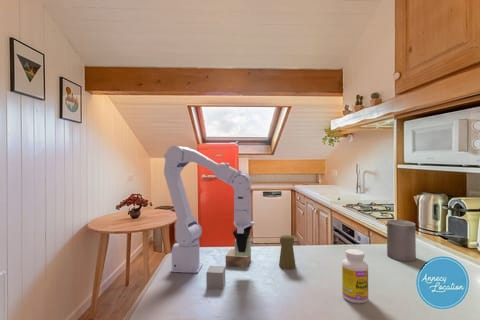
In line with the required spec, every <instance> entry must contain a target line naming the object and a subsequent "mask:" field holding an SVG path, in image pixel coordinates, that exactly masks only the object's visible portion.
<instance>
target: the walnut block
mask: <svg viewBox="0 0 480 320" xmlns="http://www.w3.org/2000/svg"><path fill="white" fill-rule="evenodd" d="M251 260H252V252H251V253H250V256H235V248H229V250H228V252H227V253H226V254H225V267H236V268H248V267H249V265H250V263H249V262H251Z"/></svg>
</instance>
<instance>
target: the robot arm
mask: <svg viewBox="0 0 480 320" xmlns="http://www.w3.org/2000/svg"><path fill="white" fill-rule="evenodd" d="M163 157H164V160H165V161H164V166H163V167H164V169H163V175H164V178H165V182H166V185H167V189H168V192H169V195H170V199H171V202H172V206H173V209H174V212H175V216H176V222H175V225H174V228H175V236H174V237H175V241H176V243H174V244H173V245H172V248H171V270H170V272H171V273H187V274H188V273H189V274H193V273H195V274H196V273H198V272H199V271H200V269H201V268H202V266H203V265H204V263H203V262H200V260H201V259H200V257H201V256H200V255H201V254H200V238H201V236H202V234H203V229H202V226H201V225H200V224H199V222H198V220H197V217H195V215H193V214H192V210H191V207H190V203H189V201H188V200H189V199H188V197H187V193H186V190H185V186H184V182H183V179H182V177H181V173H182V172H183V170H184V168H185V167H186V166H187V165H189V164H190V163H195V164H197V165H199V166H201V167H203V168H206V169H207V170H209V171H211V172H213V174H214V177H215V178H216V179H218V180H220V181H222V182H224V183H225V184H227V185H229V186H231V187H232V189H233V191H234V192H233V193H234V194H233V205H234V207H233V209H234V210H233V213H234V214H233V225H234V227H235V229H233V231H232V234H233V236H234V238H235V239H236V242H237V247H238V251H239V252H245V250H246V245H247V239H248V237H250V234H251V230H252V227H253V226H255V225H256V223H255V221H252V195H251V194H252V193H251V192H252V191H251V187H252V185H253V179H252V176H250V175H249V174H248V173H245V172H244V173H242V170H241V169H236V168H234V167H232V166H230V165H231V164H230V163H229V162H221V163H219V162H215V160H213V159H211V158H209V157H207V156H206V155H205V154H202V153H201V152H199V151H197V150H195V149H193V148H190V147H189V146H178V145H171V146H169V147H168V149H167V150H166V151H165V153H164V155H163ZM235 239H234V240H235Z"/></svg>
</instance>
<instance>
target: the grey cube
mask: <svg viewBox="0 0 480 320" xmlns="http://www.w3.org/2000/svg"><path fill="white" fill-rule="evenodd" d="M205 272H206V281H205V282H206V289H208V290H214V289H215V290H224V288H225V283H226V265H224V266H223V265H209V267H208V268H207V270H206V271H205Z"/></svg>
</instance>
